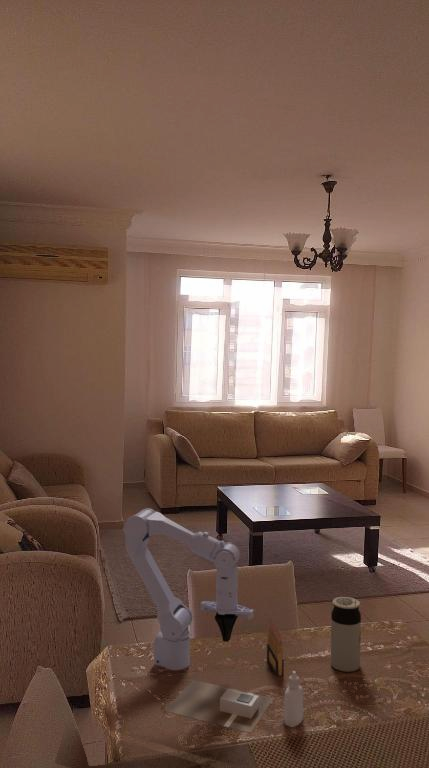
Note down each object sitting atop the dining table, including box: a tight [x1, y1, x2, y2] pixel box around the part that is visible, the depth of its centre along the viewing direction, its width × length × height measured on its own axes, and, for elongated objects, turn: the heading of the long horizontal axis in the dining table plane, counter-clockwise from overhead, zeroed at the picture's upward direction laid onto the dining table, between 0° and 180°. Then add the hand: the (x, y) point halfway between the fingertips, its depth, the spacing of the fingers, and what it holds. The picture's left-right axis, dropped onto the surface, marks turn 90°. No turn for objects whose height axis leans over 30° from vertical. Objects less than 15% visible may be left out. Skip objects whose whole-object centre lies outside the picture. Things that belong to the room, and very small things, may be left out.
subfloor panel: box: [164, 679, 274, 734], centre depth 161 cm, size 22×16×1 cm
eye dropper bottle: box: [283, 670, 304, 728], centre depth 155 cm, size 4×6×12 cm
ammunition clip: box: [266, 619, 285, 676], centre depth 180 cm, size 11×2×12 cm, turn 10°
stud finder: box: [220, 688, 259, 718], centre depth 158 cm, size 8×5×3 cm, turn 66°
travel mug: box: [330, 596, 362, 673], centre depth 182 cm, size 8×8×18 cm
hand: (226, 640), depth 177 cm, fingers closed
